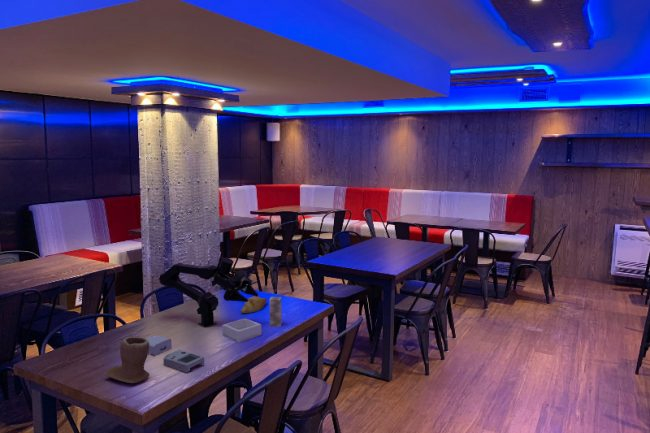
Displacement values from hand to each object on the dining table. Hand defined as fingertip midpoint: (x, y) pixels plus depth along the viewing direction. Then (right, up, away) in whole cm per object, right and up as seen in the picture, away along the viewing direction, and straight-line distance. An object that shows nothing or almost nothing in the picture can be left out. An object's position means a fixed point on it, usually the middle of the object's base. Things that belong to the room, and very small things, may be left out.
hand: (252, 298), depth 232 cm
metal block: (+10, -14, +10) cm, 20 cm away
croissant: (-5, -12, +35) cm, 37 cm away
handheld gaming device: (-23, -21, -34) cm, 46 cm away
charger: (-41, -19, -17) cm, 48 cm away
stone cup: (-39, -23, -45) cm, 63 cm away
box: (-4, -16, -3) cm, 17 cm away
